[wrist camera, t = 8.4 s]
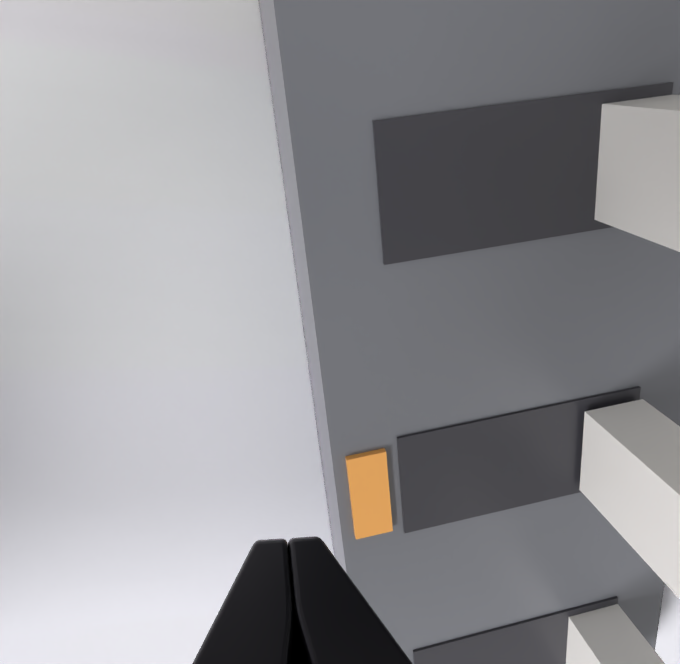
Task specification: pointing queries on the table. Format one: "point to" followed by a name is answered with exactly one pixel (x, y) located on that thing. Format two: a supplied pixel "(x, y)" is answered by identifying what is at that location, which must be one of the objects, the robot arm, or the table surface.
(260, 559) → the robot arm
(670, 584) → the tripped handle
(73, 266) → the table surface
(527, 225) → the three-peg stand
